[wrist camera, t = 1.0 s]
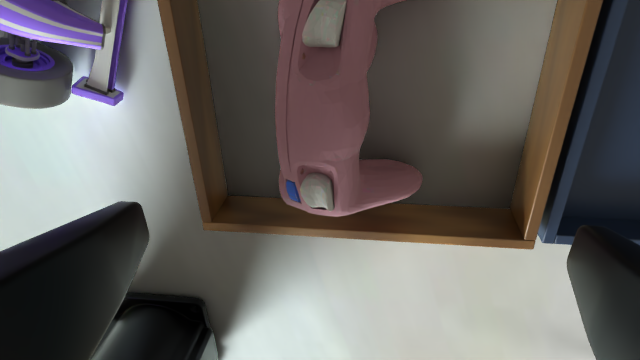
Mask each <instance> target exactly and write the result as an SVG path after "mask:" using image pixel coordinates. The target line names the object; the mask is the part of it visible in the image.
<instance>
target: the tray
mask: <svg viewBox="0 0 640 360" xmlns="http://www.w3.org/2000/svg"><path fill="white" fill-rule="evenodd" d="M583 225H593V226H604V227H607V228H609V229H611V230H613V231H615V232H616V233H618V234H620V235H622V236H624V237H626V238H628V239H629V240H631V241H633V242H635V243H637V244H639V245H640V0H603V2H602V6H601V9H600V13H599V17H598V20H597V24H596V27H595V31H594V34H593V38H592V41H591V45H590V49H589V52H588V56H587V59H586V63H585V66H584V70H583V74H582V77H581V81H580V84H579V88H578V91H577V95H576V99H575V102H574V106H573V109H572V113H571V116H570V120H569V123H568V127H567V131H566V134H565V138H564V141H563V145H562V148H561V152H560V156H559V159H558V163H557V166H556V170H555V173H554V177H553V181H552V184H551V188H550V191H549V195H548V198H547V202H546V205H545V209H544V213H543V216H542V220H541V223H540V227H539V230H538V235H539V237H540V239H541V241H542V243H550V244H553V243H555V244H568V245H572V243H573V241H574V238H575V235H576V232H577V230H578V228H579V227H581V226H583Z"/></svg>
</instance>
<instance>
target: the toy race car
mask: <svg viewBox="0 0 640 360" xmlns="http://www.w3.org/2000/svg"><path fill="white" fill-rule="evenodd" d="M127 2H128V0H102V4H101V12H100V20H99V22H97V21H95V20H93V19H90V18H88V17H86V16H84V15H82V14H80V13H79V12H77V11H75V10H73V9H71V8H70V7H68V6H67V3H66V0H0V104H1V105H5V106H10V107H16V108H26V109H41V108H49V107H54V106H57V105H60V104H62V103H64V102H65V101H66V100H68V98H69V97H70V94H71V85H72V75H73V65H72V62H71V61H70V60H69V58H68V57H66V56H65V55H64V54H62V53H61V52H59V51H57V50H55V49H53V48H51V47H48V46H46V45H43V44H40V43H37V40H41V41H47V42H54V43H61V44H68V45H74V46H81V47H87V48H93V49H96V52H95V59H94V63H93V66H92V69H91V72H90V75H89V78H88V77H85V76H83V77H82V78H80V79H79V80H78V81H77V82H76V83H74V84H73V85H72V93H73V94H75V95H78V96H82V97H85V98H89V99H92V100H96V101H99V102H103V103H106V104H109V105H112V106H115V105H116V104H118V103H119V102H120V101H121V100H123V94H124V93H123V92H121V91H119V90H117V89H115V88H114V85H115V79H116V73H117V66H118V60H119V53H120V47H121V40H122V34H123V28H124V21H125V15H126V8H127ZM30 38H31V39H33V41H30Z"/></svg>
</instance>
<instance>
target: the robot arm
mask: <svg viewBox="0 0 640 360" xmlns="http://www.w3.org/2000/svg"><path fill="white" fill-rule="evenodd" d="M148 242H149V230H148V227H147V223H146V219H145V216H144V212H143V209H142V206H141V205H140V204H139V203H137V202H125V201H121V202H117V203H115V204H112V205H110V206H108V207H105V208H103V209H100V210H98V211H96V212H93V213H91V214H89V215H86V216H84V217H81V218H79V219H77V220H74V221H72V222H69V223H67V224H65V225H62V226H60V227H58V228H55V229H53V230H50V231H48V232H46V233H43V234H41V235H39V236H36V237H34V238H31V239H29V240H27V241H24V242H22V243H19V244H17V245H15V246H12V247H10V248H8V249H5V250H3V251H0V360H217V359H218V352H217V347H216V342H215V338H214V333H213V331H212V329H211V328H210V324H209V320H208V315H207V311H206V306H205V303H204V302H203V301H202V300H200V299H197V298H186V297H174V296H161V295H149V294H137V293H127V291H128V289H129V286H130V284H131V282H132V279H133V277H134V275H135V273H136V270H137V268H138V266H139V264H140V261H141V259H142V257H143V254H144V252H145V250H146V248H147V245H148ZM567 270H568V274H569V277H570V281H571V284H572V287H573V291H574V294H575V297H576V301H577V304H578V308H579V311H580V314H581V318H582V321H583V324H584V328H585V331H586V334H587V337H588V340H589V343H590V345H591V348H592V350H593V353H594V355H595V357H596V360H640V245H639V244H637V243H635V242H633V241H631V240H629V239H628V238H626V237H624V236H622V235H620V234H618V233H616V232H615V231H613V230H611V229H609V228H607V227H604V226H593V225H583V226H581V227H579V228H578V230H577V232H576V235H575V238H574V241H573V243H572V246H571V249H570V252H569V255H568V259H567Z"/></svg>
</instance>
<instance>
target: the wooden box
mask: <svg viewBox="0 0 640 360" xmlns="http://www.w3.org/2000/svg"><path fill="white" fill-rule="evenodd" d="M157 1H158V6H159V11H160V16H161V21H162V26H163V31H164V36H165V41H166V46H167V51H168V56H169V61H170V66H171V71H172V76H173V81H174V86H175V91H176V96H177V101H178V105H179V110H180V115H181V120H182V125H183V130H184V135H185V140H186V145H187V150H188V155H189V160H190V165H191V170H192V175H193V180H194V185H195V190H196V195H197V200H198V205H199V210H200V215H201V220H202V224H203V229H204V230H210V231H227V232H244V233H261V234H278V235H295V236H312V237H329V238H346V239H363V240H380V241H397V242H414V243H431V244H448V245H465V246H482V247H499V248H516V249H533V248H534V245H535V240H536V238H537V234H538V230H539V227H540V223H541V220H542V216H543V213H544V209H545V205H546V202H547V198H548V195H549V191H550V188H551V184H552V181H553V177H554V173H555V170H556V166H557V163H558V159H559V156H560V152H561V148H562V145H563V141H564V138H565V134H566V131H567V127H568V123H569V120H570V116H571V113H572V109H573V106H574V102H575V99H576V95H577V91H578V88H579V84H580V81H581V77H582V74H583V70H584V66H585V63H586V59H587V56H588V52H589V49H590V45H591V41H592V38H593V34H594V31H595V27H596V24H597V20H598V17H599V13H600V9H601V6H602V2H603V0H558V2H557V6H556V10H555V14H554V19H553V23H552V27H551V32H550V36H549V40H548V45H547V49H546V53H545V58H544V62H543V66H542V71H541V75H540V79H539V84H538V88H537V92H536V97H535V101H534V105H533V109H532V114H531V118H530V122H529V127H528V131H527V135H526V140H525V144H524V148H523V153H522V157H521V161H520V166H519V170H518V174H517V179H516V183H515V187H514V192H513V196H512V200H511V204H510V209H504V208H482V207H461V206H440V205H419V204H398V203H388V204H384V205H380V206H376V207H373V208H369V209H366V210H362V211H359V212H356V213H353V214H349V215H345V216H339V217H334V216H323V215H317V214H312V213H308V212H307V211H304V210H302V209H299V208H296V207H294V206H291V205H288V204H287V203H286V202H285V201H284V200H283V199H282V198H271V197H250V196H229V195H228V191H227V185H226V179H225V172H224V166H223V160H222V153H221V147H220V141H219V134H218V128H217V122H216V115H215V109H214V103H213V96H212V90H211V84H210V77H209V71H208V65H207V58H206V52H205V46H204V39H203V33H202V27H201V20H200V14H199V8H198V1H197V0H157Z"/></svg>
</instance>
